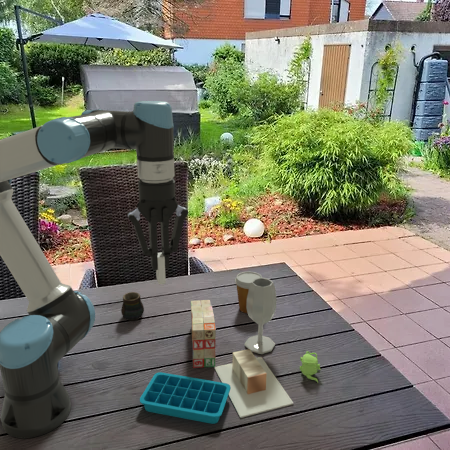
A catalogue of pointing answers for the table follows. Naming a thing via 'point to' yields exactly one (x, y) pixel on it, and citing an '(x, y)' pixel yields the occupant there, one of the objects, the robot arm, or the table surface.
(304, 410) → the table surface
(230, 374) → the rubber mat
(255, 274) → the disposable coffee cup
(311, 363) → the green monster figurine
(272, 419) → the table surface
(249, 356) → the birch block
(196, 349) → the stack of blocks
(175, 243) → the robot arm
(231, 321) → the table surface
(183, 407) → the ice cube tray
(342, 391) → the table surface
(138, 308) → the mate gourd
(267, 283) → the wineglass
